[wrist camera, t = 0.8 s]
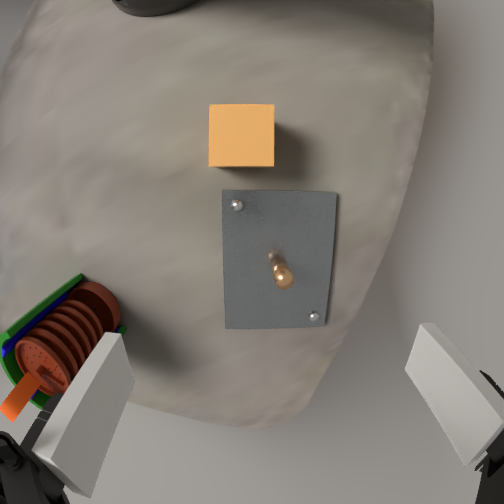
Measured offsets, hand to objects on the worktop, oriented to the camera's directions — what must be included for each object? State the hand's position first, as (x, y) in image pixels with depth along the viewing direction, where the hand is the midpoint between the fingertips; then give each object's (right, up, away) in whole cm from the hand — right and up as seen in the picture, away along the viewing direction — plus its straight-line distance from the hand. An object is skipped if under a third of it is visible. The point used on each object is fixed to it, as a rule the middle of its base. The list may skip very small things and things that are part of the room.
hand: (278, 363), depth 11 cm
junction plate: (+2, +3, +21) cm, 21 cm away
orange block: (-2, +16, +17) cm, 23 cm away
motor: (-22, -3, +22) cm, 32 cm away
